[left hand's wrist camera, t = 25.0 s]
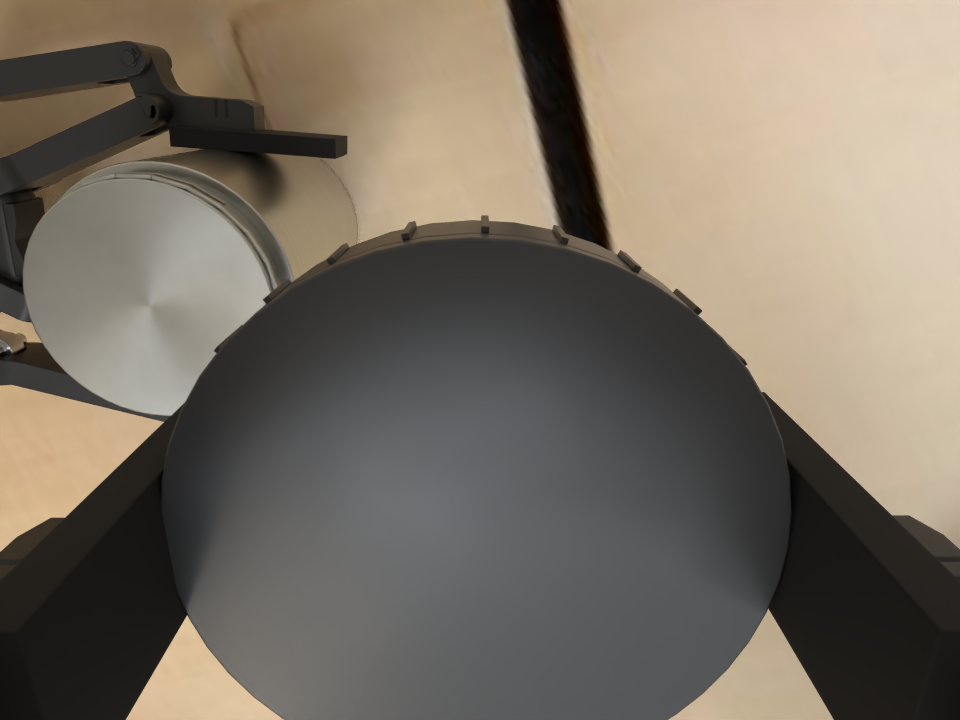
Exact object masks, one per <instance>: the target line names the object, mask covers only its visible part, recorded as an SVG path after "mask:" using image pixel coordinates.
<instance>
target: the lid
mask: <svg viewBox="0 0 960 720" xmlns="http://www.w3.org/2000/svg"><path fill="white" fill-rule="evenodd" d="M263 301H264V302H265V303H266V304H265V305H264V306H263V307H262V308H261V309H260V310H258V311H257V312H256V313H255V314H254V315H253V316H252V317H251V318H250V319H249V320H248V321H247V322H246V323H245V324H244V325H241V326H240V327H239V328H237V329H236V330H235V331H234V332H233V333H232V334H231V335H229V336H228V337H227V338H226V339H225V340H224V341H223V342H221V343H220V344H219V345H218V346H217V347H216V348H215V350H214V352H216V355H215V356H214V357H213V359H212V360H211V361H210V362H209V364H208V365H207V366H206V368H205V369H204V370H203V372H202V373H201V374H200V376H199V377H198V379H197V381H196V383H195V385H194V387H193V388H192V390H191V392H190V394H189V396H188V398H187V399H186V401H185V403H184V405H183V407H182V409H181V411H180V414H179V416H178V419H177V422H176V425H175V428H174V430H173V433H172V436H171V439H170V442H169V445H168V449H167V454H166V460H165V465H164V471H163V476H162V482H161V509H162V516H163V521H164V526H165V531H166V536H167V542H168V547H169V552H170V557H171V562H172V567H173V572H174V577H175V583H176V588H177V592H178V595H179V597H180V600H181V602H182V604H183V606H184V608H185V611H186V613H187V615H188V617H189V619H190V621H191V622H192V624H193V625H194V627H195V629H196V630H197V632H198V633H199V635H200V637H201V638H202V640H203V641H204V643H205V644H206V646H207V648H208V649H209V650H210V651H211V652H212V654H213V655H214V656H215V657H216V658H217V660H218V661H219V662H220V663H221V664H222V666H223V667H224V668H225V669H226V671H227V672H228V673H229V674H230V675H231V676H232V677H233V678H234V679H235V680H236V681H237V682H238V683H239V684H241V685H242V686H243V687H244V688H245V689H246V690H247V691H248V692H249V693H250V694H251V695H252V696H253V697H254V698H256V699H257V700H258V701H260V702H261V703H262V704H264V705H265V706H266V707H268V708H269V709H270V710H272V711H273V712H274V713H276V714H277V715H278V716H280V717H281V718H283V719H284V720H668V719H670V718H671V717H673V716H674V715H676V714H677V713H679V712H680V711H681V710H683V709H684V708H685V707H686V706H688V705H689V704H690V703H691V702H693V701H694V700H695V699H697V698H698V697H699V696H700V695H702V694H703V693H704V692H705V691H706V690H707V689H708V688H709V687H710V686H711V685H712V684H713V683H714V682H715V681H716V680H717V679H718V678H719V677H720V676H721V675H722V674H723V673H724V672H725V671H726V670H727V669H728V668H729V667H730V665H731V664H732V663H733V662H734V660H735V659H736V658H737V657H738V655H739V654H740V653H741V651H742V650H743V649H744V648H745V646H746V645H747V644H748V643H749V641H750V639H751V638H752V636H753V634H754V633H755V631H756V629H757V628H758V626H759V624H760V622H761V621H762V619H763V617H764V616H765V614H766V612H767V610H768V607H769V605H770V603H771V600H772V598H773V596H774V593H775V591H776V588H777V586H778V584H779V581H780V577H781V574H782V570H783V566H784V562H785V558H786V554H787V550H788V545H789V535H790V525H791V515H792V507H791V488H790V474H789V470H788V465H787V460H786V456H785V451H784V446H783V442H782V438H781V436H780V433H779V430H778V428H777V425H776V423H775V420H774V417H773V415H772V412H771V410H770V407H769V405H768V403H767V401H766V399H765V398H764V396H763V394H762V392H761V391H760V389H759V387H758V386H757V384H756V382H755V380H754V379H753V377H752V375H751V373H750V372H749V370H748V369H747V368H746V366H745V365H747V363H746V361H745V360H744V359H743V358H742V357H741V356H740V355H739V354H738V353H737V352H736V351H734V350H733V349H732V348H731V347H730V346H729V345H728V344H727V343H726V342H725V340H724V339H723V338H722V337H721V336H720V335H719V334H718V333H717V332H716V331H714V330H713V329H712V328H711V327H710V326H709V325H708V324H707V323H706V322H705V321H704V320H702V319H701V318H700V317H699V316H698V315H699V314H700V313H701V312H702V310H701V309H700V308H699V307H698V306H696V305H695V304H694V303H693V302H692V301H691V300H690V299H688V298H687V297H686V296H685V295H684V294H683V293H681V292H680V291H679V290H678V289H676V290H675V291H674V292H672V291H671V290H669V289H668V288H667V287H666V286H665V285H664V284H663V283H661V282H660V281H659V280H657V279H656V278H654V277H653V276H651V275H650V274H648V273H647V272H645V271H644V270H642V269H641V267H640V266H639V265H638V264H637V263H636V262H635V261H634V260H633V259H632V258H631V257H630V256H629V255H627V254H626V253H625V252H623V251H621V250H620V252H619V253H618V255H617V254H615V253H613V252H611V251H609V250H607V249H605V248H603V247H600V246H598V245H596V244H594V243H592V242H589V241H586V240H583V239H580V238H577V237H574V236H571V235H568V234H565V233H564V231H563V230H562V229H561V227H560V226H556V225H554V226H553V229H552V230H551V229H545V228H540V227H535V226H530V225H524V224H519V223H512V222H494V221H489V218H488V216H483V215H482V216H481V221H476V220H471V221H458V222H445V223H432V224H427V225H422V226H416V222H415V221H414V222H409V223H408V225H407V226H406V228H405V229H403V230H398V231H394V232H390V233H387V234H384V235H381V236H378V237H376V238H373V239H370V240H367V241H365V242H362V243H359V244H356V245H353V246H351V247H349V246H348V244H347V243H345V244H343V245H341V246H340V247H339V248H338V249H337V250H336V251H335V252H334V253H333V254H332V255H330V256H329V257H328V258H327V259H326V260H324V261H322V262H320V263H319V264H317V265H315V266H314V267H312V268H311V269H310V270H308V271H307V272H306V273H304V274H303V275H301V276H300V277H299V278H297V279H296V280H294V281H293V282H292V283H291V281H290V280H289V279H286V280H285V281H284V282H283V283H281V284H280V285H279V286H278V287H277V288H276V289H274V290H273V291H272V292H271V293H270V294H268V295H267V296H266V297H265V298H264V299H263Z"/></svg>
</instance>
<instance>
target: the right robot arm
mask: <svg viewBox="0 0 960 720" xmlns="http://www.w3.org/2000/svg"><path fill="white" fill-rule="evenodd" d="M171 68H172V61H171V58H170V56H169V54H168V53H167V52H166V51H165V50H164V49H162V48H160V47H157V46H152V45H147V44H142V43H136V42H131V41H122V42H115V43H109V44H102V45H96V46H90V47H83V48H77V49H70V50H64V51H58V52H51V53H45V54H38V55H32V56H26V57H19V58H13V59H6V60H0V101H13V100H20V99H27V98H33V97H40V96H46V95H53V94H59V93H66V92H72V91H79V90H85V89H92V88H98V87H105V86H111V85H118V84H124V83H130V84H131V86H132V89H133V91H134V93H135V94H134V95H135V96H136V98H134V99H132V100H130V101H128V102H126V103H124V104H121V105H119V106H117V107H115V108H113V109H111V110H108V111H106V112H104V113H102V114H100V115H97V116H95V117H93V118H91V119H89V120H87V121H84V122H82V123H80V124H78V125H76V126H73V127H71V128H69V129H67V130H65V131H63V132H60V133H58V134H56V135H54V136H52V137H50V138H47V139H45V140H43V141H41V142H39V143H36V144H34V145H32V146H30V147H28V148H26V149H23V150H21V151H19V152H17V153H15V154H12V155H10V156H7V157H3V158H0V312H4V313H6V314H8V315H10V316H12V317H14V318H16V319H19V320H21V321H25V322H32V321H31V319H30V316H29V313H28V310H27V306H26V303H25V297H24V291H23V264H24V256H25V253H26V249H27V246H28V242H29V240H30V238H31V236H32V233H33V231H34V229H35V227H36V226H37V224H38V223H39V221H40V220H41V218H42V217H43V216H44V214H45V212H44V206H43V200H42V198H40V197H36V196H35V194H34V192H36V191H39V190H41V189H43V188H45V187H48V186H50V185H52V184H54V183H56V182H59V181H61V180H62V178H64V177H66V176H68V175H70V174H73V173H75V172H77V171H79V170H82V169H84V168H86V167H88V166H90V165H93V164H95V163H97V162H99V161H102V160H104V159H106V158H108V157H110V156H113V155H115V154H117V153H119V152H122V151H124V150H126V149H128V148H131V147H133V146H135V145H137V144H139V143H142V142H144V141H146V140H148V139H151V138H153V137H155V136H157V135H159V134H162V133H164V132H166V131H168V130H169V133H170V144H171V146H174V147H187V148H200V149H213V150H227V151H240V152H253V153H266V154H280V155H293V156H306V157H319V158H333V159H336V158H339V157H341V156H344V155H346V154H347V136H340V135H327V134H314V133H301V132H288V131H275V130H265V128H264V106H262V105H260V104H258V103H256V102H254V101H252V100H240V99H227V98H215V97H202V96H193V95H189V94H187V93H185V92H184V91H183V90H181V89H180V87H179V86H178V85H177V83H176V81H175V79H174V76H173V74H172V72H171ZM26 342H27V339H26V337H25V336H24V335H23V334H20V333H17V334H14V333H11V332H6V331H3V330H0V385H16V386H20V387H24V388H28V389H32V390H36V391H40V392H44V393H48V394H52V395H57V396H61V397H65V398H69V399H73V400H77V401H81V402H85V403H89V404H93V405H98V406H102V407H106V408H110V409H114V410H118V411H122V412H126V413H130V414H134V415H138V416H143V417H147V418H151V419H155V420H159V421H163V422H165V421H166V420H167V419H168V418H169V417H170V416H163V415H151V414H146V413H141V412H136V411H133V410H129V409H126V408H123V407H120V406H118V405H115V404H113V403H111V402H108V401H106V400H104V399H103V398H101V397H99V396H97V395H95V394H94V393H92V392H90V391H89V390H88V389H86V388H85V387H83V386H82V385H80V384H79V383H78V382H77V381H75V380H74V379H73V378H72V377H71V376H70V375H69V374H67V373H66V372H65V371H64V370H63V369H62V368H61V366H60V365H59V364H58V363H57V362H56V361H55V360H54V359H53V357H52V356H51V355H50V353H49V352H48V351H47V349H46V348H45V347H44V345H43V343H36V342H27V343H26Z"/></svg>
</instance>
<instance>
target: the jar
mask: <svg viewBox="0 0 960 720" xmlns="http://www.w3.org/2000/svg"><path fill="white" fill-rule="evenodd" d="M345 243H347V244H348V246H349V247H351V246H353V245H356V244H357V220H356V215H355V210H354V207H353V204H352V201H351V199H350V196H349V194H348V192H347V190H346V188H345V187H344V185H343V184H342V182H341V181H340V179H339V178H338V176H337V175H336V174H335V173H334V172H333V171H332V170H331V168H329V167H328V166H327V165H326V164H325V163H324V162H323V161H322V160H320V159H319V158H317V157H306V156H293V155H280V154H266V153H253V152H240V151H227V150H213V149H203V150H197V151H191V152H185V153H179V154H173V155H167V156H161V157H155V158H149V159H144V160H138V161H132V162H126V163H120V164H115V165H112V166H109V167H106V168H103V169H100V170H97V171H95V172H93V173H92V174H90V175H88V176H86V177H84V178H82V179H81V180H80V181H78V182H77V183H76V184H74V185H73V186H72V187H70V188H69V189H68V190H67V191H66V192H65V193H64V194H63V195H62V196H61V197H60V198H59V199H58V201H57V202H56V203H55V204H54V205H53V206H52V207H51V208H50V209H49V210H48V211H47V212H46V213H45V214H44V216H43V217H42V218H41V220H40V221H39V223H38V224H37V226H36V227H35V229H34V231H33V233H32V236H31V238H30V240H29V242H28V246H27V249H26V253H25V256H24V264H23V291H24V297H25V303H26V306H27V310H28V313H29V316H30V319H31V321H32V324H33V326H34V328H35V331H36V333H37V335H38V336H39V338H40V340H41V341H42V343H43V345H44V347H45V348H46V349H47V351H48V352H49V353H50V355H51V356H52V357H53V359H54V360H55V361H56V362H57V363H58V364H59V365H60V366H61V368H62V369H63V370H64V371H65V372H66V373H67V374H69V375H70V376H71V377H72V378H73V379H74V380H75V381H77V382H78V383H79V384H80V385H82V386H83V387H85V388H86V389H88V390H89V391H90V392H92V393H94V394H95V395H97V396H99V397H101V398H103V399H104V400H106V401H108V402H111V403H113V404H115V405H118V406H120V407H123V408H126V409H129V410H133V411H136V412H141V413H146V414H151V415H163V416H171V415H172V414H173V413H174V412H175V411H176V410H177V409H179V408H180V407H181V406H182V405H183V404H184V403H185V401H186V399H187V398H188V396H189V394H190V392H191V390H192V388H193V387H194V385H195V383H196V381H197V379H198V377H199V376H200V374H201V373H202V372H203V370H204V369H205V368H206V366H207V365H208V364H209V362H210V361H211V360H212V359H213V357H214V356H215V355H216V352H214V350H215V348H216V347H217V346H218V345H219V344H220V343H221V342H223V341H224V340H225V339H226V338H227V337H228V336H229V335H231V334H232V333H233V332H234V331H235V330H236V329H237V328H239V327H240V326H241V325H244V324H245V323H246V322H247V321H248V320H249V319H250V318H251V317H252V316H253V315H254V314H255V313H256V312H257V311H258V310H260V309H261V308H262V307H263V306H264V305H265V304H266V303H265V302H264V301H263V299H264V298H265V297H266V296H267V295H268V294H270V293H271V292H272V291H273V290H274V289H276V288H277V287H278V286H279V285H280V284H281V283H283V282H284V281H285V280H286V279H289V280H290V281H291V283H292V282H293V281H294V280H296V279H297V278H299V277H300V276H301V275H303V274H304V273H306V272H307V271H308V270H310V269H311V268H312V267H314V266H315V265H317V264H319V263H320V262H322V261H324V260H326V259H327V258H328V257H329V256H330V255H332V254H333V253H334V252H335V251H336V250H337V249H338V248H339V247H340V246H341V245H343V244H345Z"/></svg>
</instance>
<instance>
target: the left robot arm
mask: <svg viewBox="0 0 960 720" xmlns="http://www.w3.org/2000/svg"><path fill="white" fill-rule="evenodd" d="M762 394H763V396H764V398H765V399H766V401H767V403H768V405H769V407H770V410H771V412H772V415H773V417H774V420H775V423H776V425H777V428H778V430H779V433H780V436H781V438H782V442H783V446H784V451H785V456H786V460H787V465H788V470H789V474H790V488H791V507H792V515H791V525H790V535H789V545H788V550H787V554H786V558H785V562H784V566H783V570H782V574H781V577H780V581H779V584H778V586H777V588H776V591H775V593H774V596H773V598H772V600H771V603H770V605H769V607H768V608H769V610H770V612H771V613H772V615H773V617H774V619H775V620H776V622H777V624H778V625H779V627H780V629H781V630H782V632H783V634H784V636H785V637H786V639H787V641H788V642H789V644H790V646H791V647H792V649H793V651H794V653H795V654H796V656H797V658H798V659H799V661H800V663H801V664H802V666H803V668H804V670H805V671H806V673H807V675H808V676H809V678H810V680H811V681H812V683H813V685H814V687H815V688H816V690H817V692H818V693H819V695H820V697H821V698H822V700H823V702H824V704H825V705H826V707H827V709H828V710H829V712H830V714H831V715H832V717H833V719H834V720H960V549H958V548H957V547H956V546H955V545H954V544H953V543H952V542H951V541H950V540H948V539H947V538H946V537H945V536H944V535H943V534H941V533H939V532H937V531H936V530H934V529H932V528H930V527H928V526H927V525H925V524H923V523H921V522H919V521H918V520H916V519H914V518H912V517H911V516H892V515H891V514H890V513H889V512H888V511H887V510H886V509H885V508H884V507H883V506H881V505H880V504H879V503H878V502H877V501H876V500H875V499H874V498H873V497H872V496H871V495H870V494H869V493H868V492H867V491H866V490H865V489H864V488H863V487H862V486H861V485H860V484H859V483H858V482H857V481H856V480H855V479H854V478H852V477H851V476H850V475H849V474H848V473H847V472H846V471H845V470H844V469H843V468H842V467H841V466H840V465H839V464H838V463H837V462H836V461H835V460H834V459H833V458H832V457H831V456H830V455H829V454H828V453H827V452H826V451H825V450H823V449H822V448H821V447H820V446H819V445H818V444H817V443H816V442H815V441H814V440H813V439H812V438H811V437H810V436H809V435H808V434H807V433H806V432H805V431H804V430H803V429H802V428H801V427H800V426H799V425H798V424H797V423H796V422H794V421H793V420H792V419H791V418H790V417H789V416H788V415H787V414H786V413H785V412H784V411H783V410H782V409H781V408H780V407H779V406H778V405H777V404H776V403H775V402H774V401H773V400H772V399H771V398H770V397H769V396H768V395H767V394H765V393H764V392H762ZM183 405H184V404H183ZM183 405H182V406H181V407H180V408H179V409H177V410H176V411H175V412H174V413H173V414H172V415H171V416H170V417H169V418H168V419H167V420H166V421H165V422H164V423H163V424H162V425H161V426H160V427H159V428H158V429H157V430H156V431H155V432H154V433H153V434H152V435H151V436H150V437H148V438H147V439H146V440H145V441H144V442H143V443H142V444H141V445H140V446H139V447H138V448H137V449H136V450H135V451H134V452H133V453H132V454H131V455H130V456H129V457H128V458H127V459H126V460H125V461H124V462H123V463H122V464H120V465H119V466H118V467H117V468H116V469H115V470H114V471H113V472H112V473H111V474H110V475H109V476H108V477H107V478H106V479H105V480H104V481H103V482H102V483H101V484H100V485H99V486H98V487H97V488H96V489H95V490H94V491H93V492H91V493H90V494H89V495H88V496H87V497H86V498H85V499H84V500H83V501H82V502H81V503H80V504H79V505H78V506H77V507H76V508H75V509H74V510H73V511H72V512H71V513H70V514H69V515H68V516H67V517H66V518H50V519H48V520H46V521H45V522H43V523H41V524H39V525H38V526H36V527H34V528H32V529H31V530H29V531H27V532H25V533H23V534H22V535H20V536H18V537H17V538H15V539H14V540H13V541H12V542H11V543H10V544H9V545H8V546H7V547H5V548H4V549H3V550H2V551H1V552H0V720H126V718H127V716H128V715H129V713H130V711H131V710H132V708H133V706H134V704H135V703H136V701H137V699H138V698H139V696H140V694H141V693H142V691H143V689H144V687H145V686H146V684H147V682H148V681H149V679H150V677H151V676H152V674H153V672H154V670H155V669H156V667H157V665H158V664H159V662H160V660H161V659H162V657H163V655H164V653H165V652H166V650H167V648H168V647H169V645H170V643H171V642H172V640H173V638H174V636H175V635H176V633H177V631H178V630H179V628H180V626H181V625H182V623H183V621H184V619H185V618H186V616H187V613H186V611H185V608H184V606H183V604H182V602H181V600H180V597H179V595H178V592H177V588H176V583H175V577H174V572H173V567H172V562H171V557H170V552H169V547H168V542H167V536H166V531H165V526H164V521H163V516H162V509H161V482H162V476H163V471H164V465H165V460H166V454H167V449H168V445H169V442H170V439H171V436H172V433H173V430H174V428H175V425H176V422H177V419H178V416H179V414H180V411H181V409H182V407H183Z"/></svg>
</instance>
